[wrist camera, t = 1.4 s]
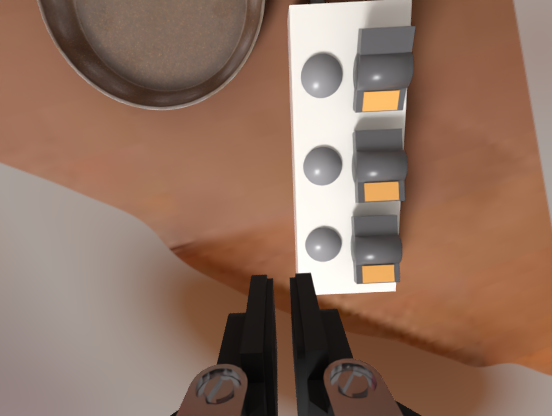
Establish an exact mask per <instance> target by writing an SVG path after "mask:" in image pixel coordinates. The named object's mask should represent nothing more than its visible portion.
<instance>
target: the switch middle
mask: <svg viewBox="0 0 552 416" xmlns="http://www.w3.org/2000/svg"><path fill="white" fill-rule="evenodd" d="M352 137H353V156H352V177H353V181H354V183H355V203H370V202H391V201H405V188H404V180H405V178H406V175H407V169H408V162H407V156H406V153H405V151H404V150H403V141H402V128H399V129H379V130H359V131H354V132H353V133H352Z"/></svg>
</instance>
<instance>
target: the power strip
mask: <svg viewBox="0 0 552 416" xmlns="http://www.w3.org/2000/svg"><path fill="white" fill-rule="evenodd" d="M411 9H412V0H378V1H359V2H341V3H325V0H310V4H304V5H289V11H288V19H287V27H288V55H289V83H290V111H291V140H292V168H293V196H294V224H295V253H296V273H311V275H312V280H313V284H314V288H315V293H316V295H318V294H340V293H362V292H384V291H396V282H393V283H371V284H356V283H355V282H354V268H353V261H352V256H351V236H352V224H351V217H353V216H374V215H397V221H398V235H399V221H400V203H401V201H391V202H370V203H355V183H354V181H353V177H352V156H353V137H352V133H353V132H354V131H359V130H379V129H399V128H402V141H403V150H404V132H405V115H406V97H407V88H406V93H405V100H404V106H403V110H400V111H380V112H361V113H355V112H354V110H353V98H354V85H353V66H354V60H355V56H356V54H357V43H358V30H359V28H377V27H395V26H411Z"/></svg>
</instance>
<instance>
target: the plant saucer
mask: <svg viewBox="0 0 552 416" xmlns="http://www.w3.org/2000/svg"><path fill="white" fill-rule="evenodd" d="M37 2H38V5H39V9H40V12H41V15H42V18H43V21H44V23H45V25H46V28H47V30H48V32H49V34H50V36H51V38H52V40H53V42H54V44H55V45H56V47H57V48H58V50H59V51H60V53H61V54H62V56H63V57H64V58H65V60H66V61H67V62H68V63H69V64H70V66H71V67H72V68H73V69H74V70H75V71H76V72H77V73H78V74H79V75H80V76H81V77H82V78H83V79H84V80H85V81H87V82H88V83H89V84H90V85H91V86H93V87H94V88H96V89H97V90H98V91H100V92H102V93H103V94H105V95H107V96H108V97H110V98H112V99H114V100H117V101H119V102H121V103H124V104H127V105H130V106H134V107H138V108H143V109H150V110H171V109H178V108H183V107H187V106H191V105H193V104H196V103H199V102H201V101H203V100H205V99H207V98H209V97H211V96H212V95H214V94H215V93H217V92H218V91H220V90H221V89H222V88H223V87H225V86H226V85H227V84H228V83H229V82H230V81H231V80H232V79H233V78H234V77H235V76H236V74H237V73H238V72H239V71H240V69H241V68H242V66H243V65H244V64H245V62H246V60H247V59H248V57H249V55H250V53H251V51H252V49H253V47H254V45H255V42H256V40H257V37H258V34H259V31H260V28H261V24H262V20H263V14H264V7H265V0H37Z"/></svg>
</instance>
